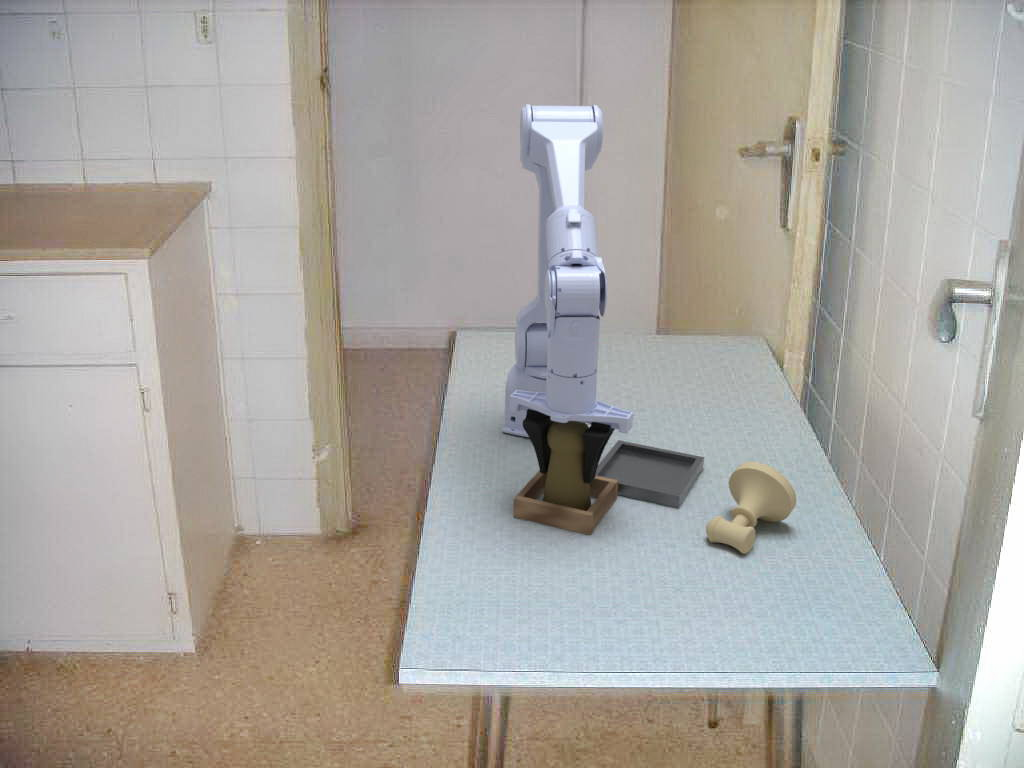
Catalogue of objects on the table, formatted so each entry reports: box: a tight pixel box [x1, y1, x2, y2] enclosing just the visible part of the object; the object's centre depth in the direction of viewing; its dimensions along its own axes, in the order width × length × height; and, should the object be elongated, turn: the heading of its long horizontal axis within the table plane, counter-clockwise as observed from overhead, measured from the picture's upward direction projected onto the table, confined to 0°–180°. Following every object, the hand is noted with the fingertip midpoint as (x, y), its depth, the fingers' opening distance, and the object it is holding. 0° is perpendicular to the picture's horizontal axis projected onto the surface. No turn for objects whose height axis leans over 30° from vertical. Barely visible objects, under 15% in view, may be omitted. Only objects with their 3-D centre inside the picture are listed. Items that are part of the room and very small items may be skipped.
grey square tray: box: [596, 439, 705, 509], centre depth 137 cm, size 12×12×2 cm
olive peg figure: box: [542, 421, 592, 511], centre depth 128 cm, size 6×6×11 cm
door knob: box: [705, 461, 797, 555], centre depth 124 cm, size 10×8×8 cm
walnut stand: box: [512, 469, 618, 536], centre depth 129 cm, size 10×10×2 cm
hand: (567, 474), depth 128 cm, fingers closed on olive peg figure, 5 cm apart
